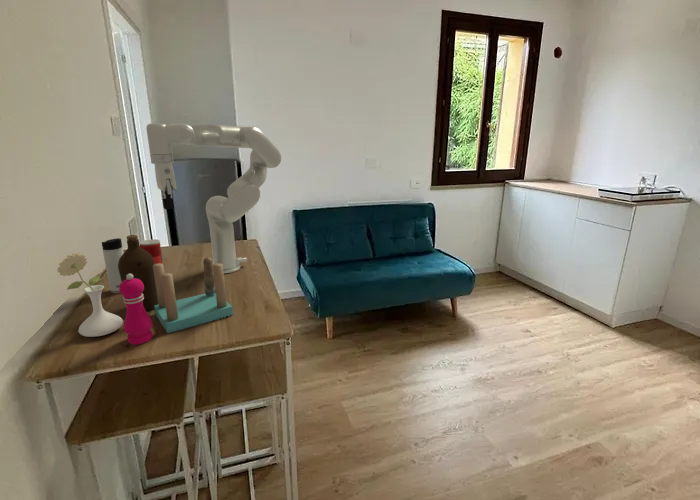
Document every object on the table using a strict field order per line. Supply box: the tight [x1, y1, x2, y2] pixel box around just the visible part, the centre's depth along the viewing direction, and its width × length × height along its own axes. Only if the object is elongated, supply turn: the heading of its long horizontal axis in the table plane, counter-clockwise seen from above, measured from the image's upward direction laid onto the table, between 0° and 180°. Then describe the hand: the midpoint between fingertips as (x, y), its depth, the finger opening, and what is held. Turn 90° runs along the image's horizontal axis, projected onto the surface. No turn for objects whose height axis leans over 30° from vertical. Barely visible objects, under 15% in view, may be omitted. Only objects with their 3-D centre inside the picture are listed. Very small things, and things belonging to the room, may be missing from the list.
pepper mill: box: [119, 274, 153, 346], centre depth 109 cm, size 7×7×20 cm
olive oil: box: [118, 234, 159, 313], centre depth 129 cm, size 11×11×25 cm
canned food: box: [139, 238, 164, 264], centre depth 172 cm, size 8×8×11 cm
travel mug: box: [101, 237, 125, 294], centre depth 144 cm, size 6×7×20 cm
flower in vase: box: [56, 252, 124, 338], centre depth 113 cm, size 13×11×25 cm
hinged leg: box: [203, 256, 216, 295], centre depth 133 cm, size 3×3×14 cm
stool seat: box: [153, 263, 234, 334], centre depth 125 cm, size 20×16×17 cm
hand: (168, 208), depth 148 cm, fingers closed
